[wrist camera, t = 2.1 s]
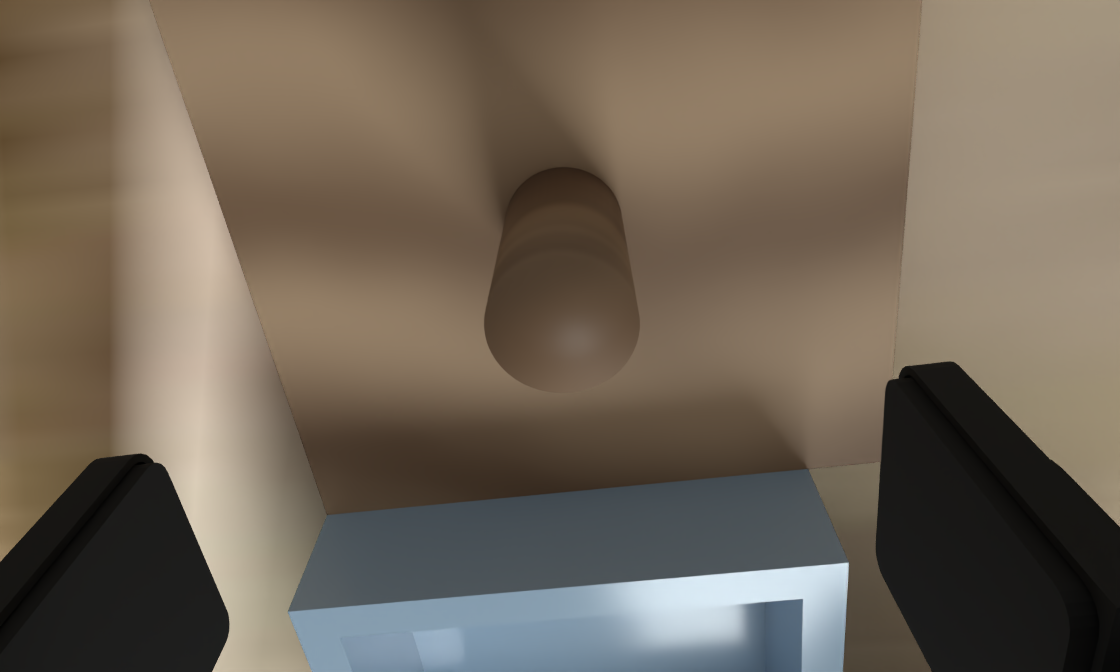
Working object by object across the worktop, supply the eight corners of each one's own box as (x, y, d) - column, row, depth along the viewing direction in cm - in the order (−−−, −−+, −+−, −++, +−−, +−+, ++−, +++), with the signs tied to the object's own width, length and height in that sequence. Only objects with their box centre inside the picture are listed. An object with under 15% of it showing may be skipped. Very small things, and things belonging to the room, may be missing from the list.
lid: (137, -108, 15) (-90, -123, 10) (918, -230, 14) (1121, -318, 9) (336, 491, 22) (263, 669, 17) (872, 438, 21) (973, 610, 16)
